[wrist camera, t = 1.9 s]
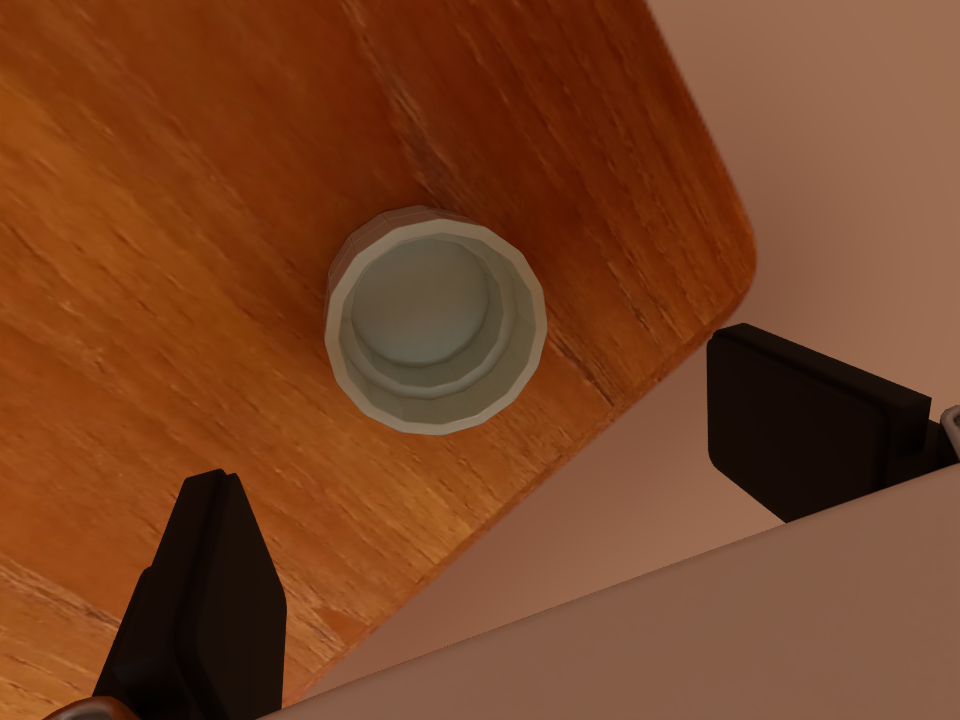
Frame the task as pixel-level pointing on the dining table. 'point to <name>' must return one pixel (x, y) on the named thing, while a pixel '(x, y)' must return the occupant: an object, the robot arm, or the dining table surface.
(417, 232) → the bowl
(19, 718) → the dining table surface
